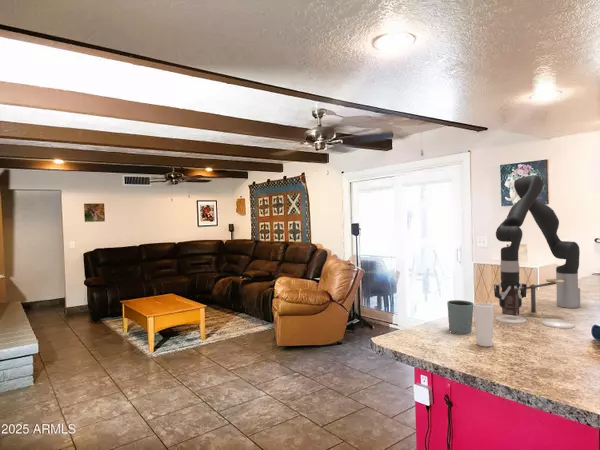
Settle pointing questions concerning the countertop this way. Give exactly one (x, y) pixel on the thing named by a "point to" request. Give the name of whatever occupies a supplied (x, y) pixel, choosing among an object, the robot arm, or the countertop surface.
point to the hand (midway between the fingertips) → (510, 307)
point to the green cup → (460, 316)
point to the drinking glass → (484, 323)
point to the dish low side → (511, 319)
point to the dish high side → (558, 323)
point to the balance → (533, 301)
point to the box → (511, 302)
